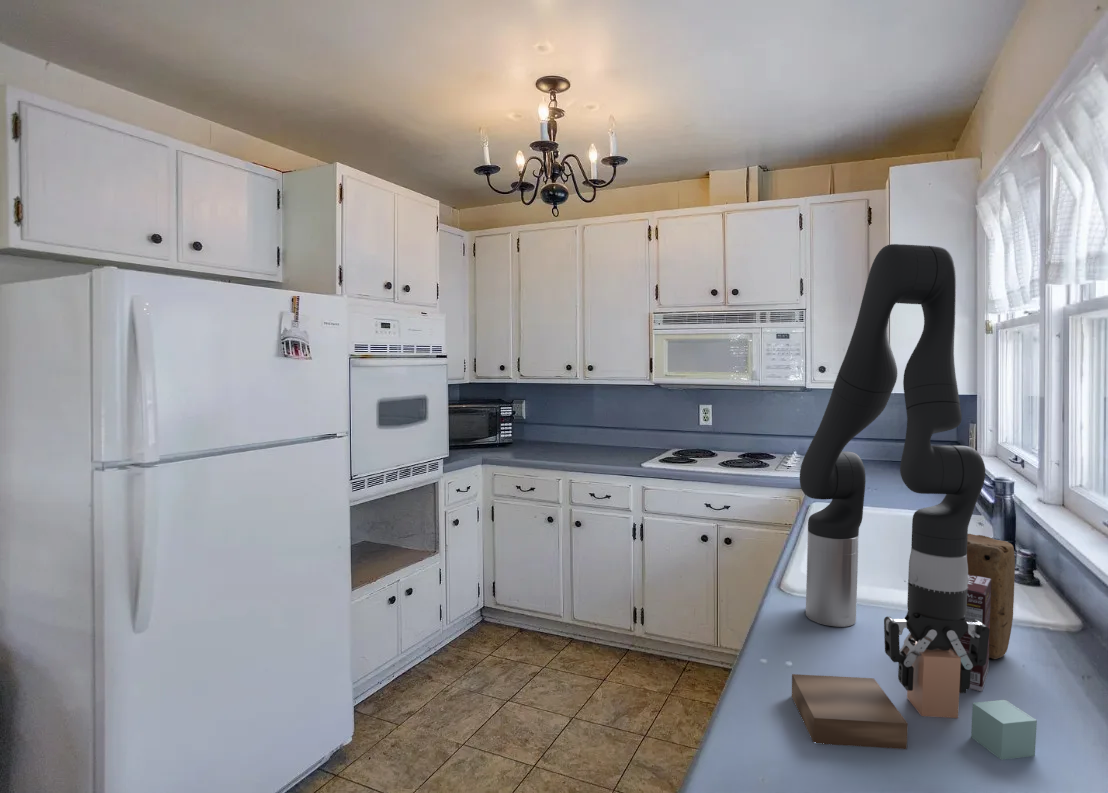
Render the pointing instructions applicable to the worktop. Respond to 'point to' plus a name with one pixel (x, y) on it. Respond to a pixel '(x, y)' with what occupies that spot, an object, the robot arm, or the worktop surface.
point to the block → (995, 585)
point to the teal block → (1003, 729)
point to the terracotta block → (936, 683)
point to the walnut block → (848, 712)
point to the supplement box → (979, 611)
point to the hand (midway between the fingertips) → (933, 689)
